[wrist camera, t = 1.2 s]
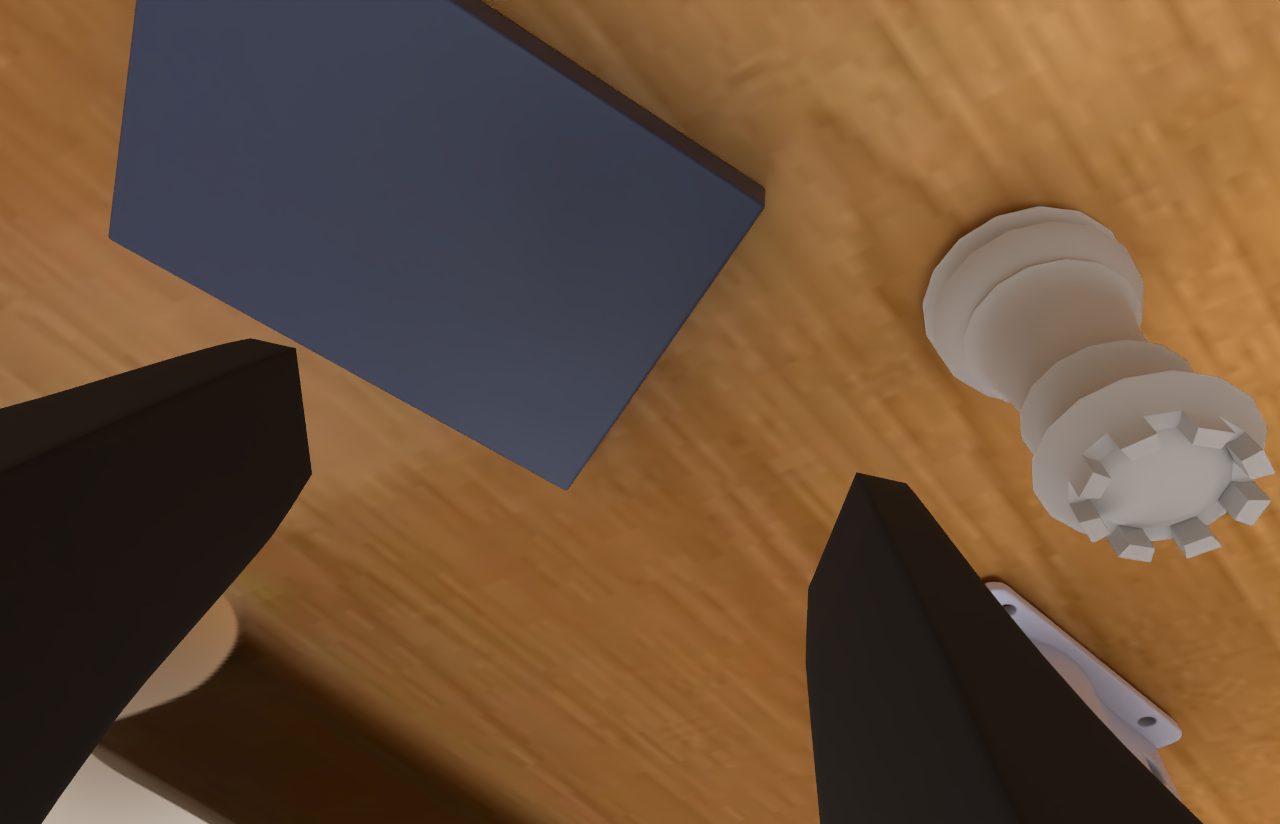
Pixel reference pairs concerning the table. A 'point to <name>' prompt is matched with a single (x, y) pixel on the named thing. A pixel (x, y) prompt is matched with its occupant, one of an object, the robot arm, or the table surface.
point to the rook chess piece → (1095, 384)
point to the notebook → (424, 206)
